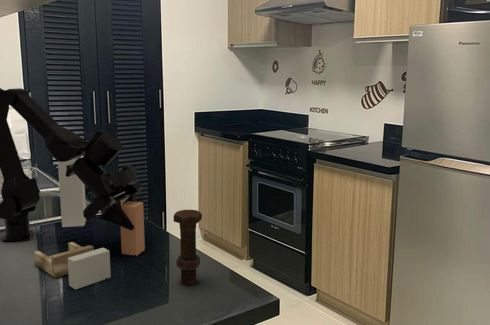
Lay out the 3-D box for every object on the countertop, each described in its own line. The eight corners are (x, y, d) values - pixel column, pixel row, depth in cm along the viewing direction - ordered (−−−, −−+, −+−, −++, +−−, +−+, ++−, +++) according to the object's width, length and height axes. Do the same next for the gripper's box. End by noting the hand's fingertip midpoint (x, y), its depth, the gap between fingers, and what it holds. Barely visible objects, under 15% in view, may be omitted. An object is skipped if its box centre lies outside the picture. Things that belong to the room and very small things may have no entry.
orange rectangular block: (121, 253, 114) (119, 205, 111) (130, 247, 118) (128, 201, 115) (136, 255, 113) (135, 207, 110) (144, 249, 116) (143, 202, 114)
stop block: (69, 285, 97) (67, 257, 96) (104, 273, 103) (103, 247, 101) (75, 289, 95) (73, 261, 94) (110, 277, 101) (109, 250, 100)
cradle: (35, 264, 106) (33, 245, 106) (72, 253, 113) (71, 235, 112) (55, 278, 100) (54, 257, 99) (94, 265, 106) (93, 246, 105)
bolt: (196, 289, 96) (195, 218, 93) (172, 286, 97) (171, 216, 94) (204, 277, 101) (203, 209, 99) (181, 275, 102) (180, 208, 100)
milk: (86, 219, 139) (83, 145, 135) (84, 226, 133) (80, 148, 129) (64, 220, 138) (60, 145, 134) (61, 227, 132) (57, 149, 128)
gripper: (92, 163, 103) (139, 217, 102) (134, 150, 121) (175, 195, 120) (63, 195, 106) (108, 247, 106) (108, 178, 124) (147, 222, 123)
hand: (137, 226), depth 113 cm, fingers closed on orange rectangular block, 4 cm apart
